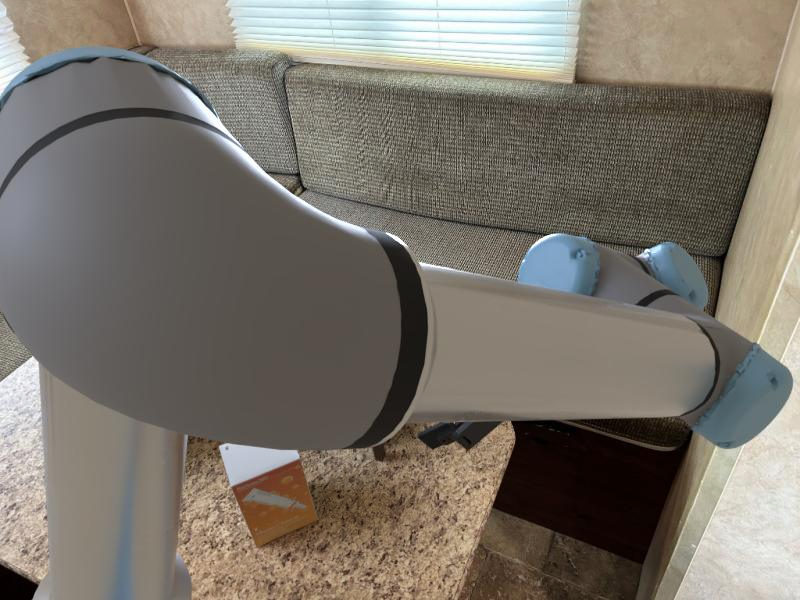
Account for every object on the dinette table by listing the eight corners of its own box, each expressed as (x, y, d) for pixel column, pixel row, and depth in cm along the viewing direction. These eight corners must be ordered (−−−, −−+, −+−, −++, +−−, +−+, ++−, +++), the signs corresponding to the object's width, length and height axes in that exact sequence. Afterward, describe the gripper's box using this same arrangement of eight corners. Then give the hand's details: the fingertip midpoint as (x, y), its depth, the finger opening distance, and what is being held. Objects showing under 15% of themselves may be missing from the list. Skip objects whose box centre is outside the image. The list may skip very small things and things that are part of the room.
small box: (256, 549, 73) (229, 487, 65) (244, 507, 78) (216, 444, 69) (320, 521, 75) (300, 457, 67) (304, 481, 80) (284, 418, 72)
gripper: (575, 445, 60) (434, 496, 73) (594, 290, 78) (478, 354, 91) (523, 399, 58) (389, 460, 72) (555, 251, 76) (443, 323, 90)
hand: (439, 401), depth 82 cm, fingers open, 13 cm apart
